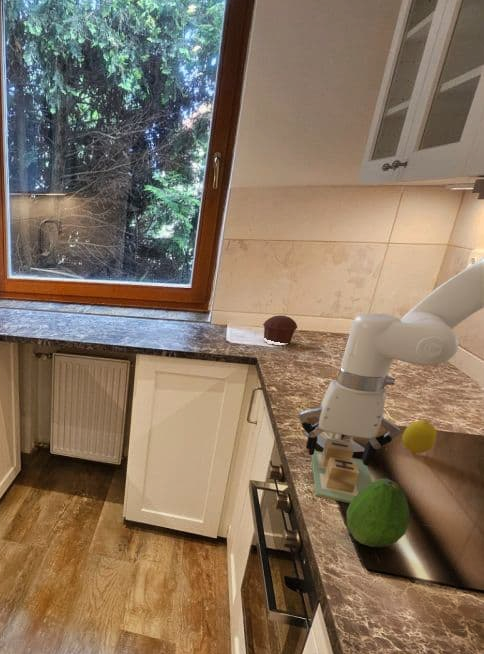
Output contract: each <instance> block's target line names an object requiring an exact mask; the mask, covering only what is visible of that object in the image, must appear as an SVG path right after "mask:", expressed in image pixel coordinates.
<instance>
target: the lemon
mask: <svg viewBox="0 0 484 654" xmlns="http://www.w3.org/2000/svg"><path fill="white" fill-rule="evenodd" d="M437 432H438V431H437V429H436V427H435V426H434V424H432V423H430V422H429V421H428V420H426V419H425V420H418V421H414V422H412V423H410V424H409V425H407V427H406V428H405V430H404V432H403V433H402V437H401V438H402V444H403V446H404V447H405V449H407V450H408V451H409V452H410V453H411V454H412V455H415V454H421V453H426V452H428V451H430V450H431V449H432V448H433V447H434V446H435V444H436V442H437V436H438V435H437V434H438V433H437Z"/></svg>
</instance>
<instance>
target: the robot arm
mask: <svg viewBox="0 0 484 654" xmlns="http://www.w3.org/2000/svg"><path fill="white" fill-rule="evenodd" d="M482 309H484V256H483V257H481V258H480V259H479V260H477V261H475V262H474V263H472V264H471V265H469V266H467V267H466V268H464V269H463V270H462V271H460V272H459V273H457V274H456V275H454V276H452V277H451V278H450V279H448V280H446V281H445V282H443V283H442V284H441V285H439V286H438V287H436V288H435V289H434V290H433V291H431V292H430V293H429V294H428V295H426V296H425V297H424V298H423V299H422V300H421V301H419V302H418V303H417V304H416V305H415V306H414V307H413V308H411V309H410V310H409V311H408V312H407V313H406V314H404V316H402V317H401V319H400V318H398V317H396V316H393V315H389V314H384V313H371V312H369V313H362V314H359V315H357V316H356V317H355V318H354V319H353V320H352V324H351V328H350V331H349V335H348V338H347V342H346V345H345V349H344V352H343V356H342V359H341V364H340V366H339V371H338V374H337V377H336V378H337V379H333V380H331V381H330V383H329V385H328V386H327V388H326V391H325V393H324V395H323V399H322V401H321V403H320V407H315V408H311V409H306V410H303V411H300V412H298V418H299V421H300V423H301V427H302V429H303V430H304V432H307V433H308V434H309V436H307V440H306V445H305V449H306V450H308V455H309V456H311V455H313V454H314V451H316V446H317V444H318V443H317V435H319V434H320V433H322V432H324V431H326V432H331V433H336V434H342V435H348V436H354V438H361V439H367V440H368V441H367V442H366V444H365V446H364V449H365V450H364V452H363V454H362V456H361V460H362V461H363V464H364V465H366V466H367V467H368V466H369V464H370V462H373V461H374V459H375V455H376V453H377V450H379V449H380V448H381V447H382V446H384V445H387V444H389V443H391V442H392V441H393V439H395V438H396V437H398V436H399V435H400V434H401V433H402V431H401V428H400V427H399V426H397V425H396V424H394V423H392V422H391V421H390V420H388V419H386V418H384V417H383V415H384V410H385V404H386V398H387V397H386V396H387V391H386V390H387V389H386V388H385V387H386V386H389V385H391V386H394V385H395V383H396V378H395V377H391V376H389V375H388V374H389V371H390V368H391V365H392V361H393V360H397V361H400V362H404V363H408V364H411V365H416V366H424V367H432V366H433V367H434V366H438V365H439V366H440V365H441V364H444V363H446V362H448V361H449V360H451V359H452V358H453V357H455V355H456V354H457V352H458V349H459V345H460V344H459V343H460V342H459V338H458V336H457V333H456V332H455V331H454V330H453V329H454V328H456V327H457V326H458V325H460V324H461V323H462V322H463V321H465V320H466V319H467V318H469V317H470V316H473V314H475V313H477V312H479V311H481V310H482ZM314 417H316V418H317V419H316V422H315V424H313V425H312V424H311V423H310V422H309V419H311V418H314ZM381 427H382V428H384V429H385V430H387V431H386V433H383V434H381V435H379V436H378V434H379V431H380V428H381Z"/></svg>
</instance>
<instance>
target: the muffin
mask: <svg viewBox="0 0 484 654" xmlns="http://www.w3.org/2000/svg"><path fill="white" fill-rule="evenodd" d="M262 326H263V327H264V328H263V339H264V338H266V339H267V340H271V341H274V342H280V343H289V344H291V341H292V339H293V336H294V332H296V330H297V329H298V324H297V323H296V321H295V320H294V319H293V318H291V317H290V316H287V315H274V316H270V317H269V318H268V319H267V320H265V321H264V322H263V324H262Z"/></svg>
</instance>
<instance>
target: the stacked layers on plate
mask: <svg viewBox="0 0 484 654" xmlns="http://www.w3.org/2000/svg"><path fill="white" fill-rule="evenodd" d="M302 433H303V434H305V435H306V436H307V437H309V434H308V433H307V432H306V431H302ZM327 438H328V439H333V440H339V441H345V442H350V443H351V445H352V448H353V453H359V452H363V453H364V450H365V447H363V446H362V445H360V444H358V442H356V441H354V440H353V439H354V438H355V437H354V436H348V435H342V434H336V433H331V432H326V431H324V432H322V433H320V434H319V435H317V443H316V444H317V445H318V446H320V447H321V448H323V449H324V446H325V442H326V439H327Z"/></svg>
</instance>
